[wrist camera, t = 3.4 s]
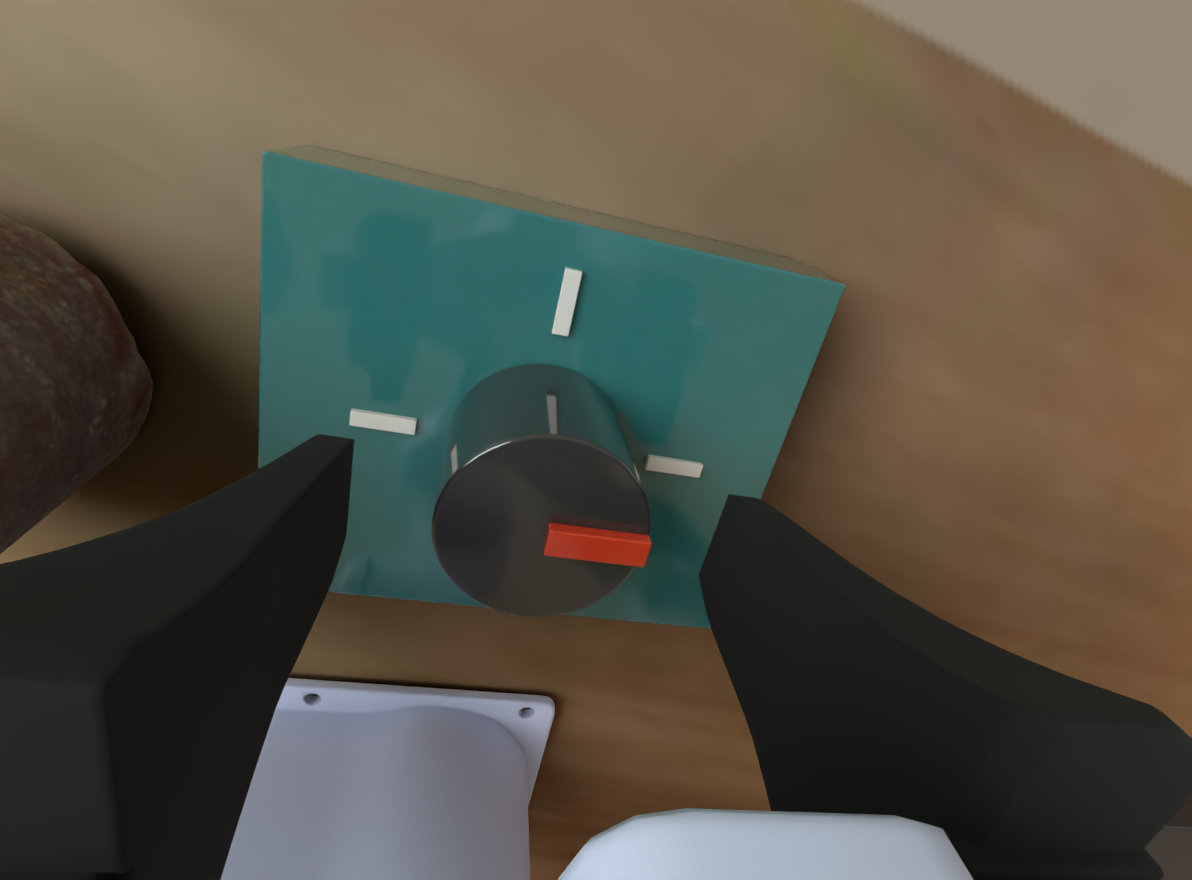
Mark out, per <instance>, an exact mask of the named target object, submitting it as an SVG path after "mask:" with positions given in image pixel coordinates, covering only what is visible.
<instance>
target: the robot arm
mask: <svg viewBox="0 0 1192 880" xmlns="http://www.w3.org/2000/svg"><path fill="white" fill-rule="evenodd" d="M353 451H354V439H349V438H343V437H336V436H329V435H322V434H317V435H315V436H314V437H312V438H310V439H308V440H307V441H305V442H303V443H302V444H300V445H298V446H297V447H295V448H294V449H292V450H290V451H289V452H287V453H285V454H284V455H282V456H280V457H279V458H277V459H275V460H274V461H272V462H270V463H268V464H267V465H265V466H263V467H262V468H260V469H258V470H256V471H255V472H253V473H251V474H249V475H248V476H246V477H244V478H242V479H240V480H238V481H236V482H234V483H232V484H230V485H228V486H226V487H224V488H222V489H220V490H218V491H216V492H214V493H212V494H210V495H208V496H206V497H204V498H202V499H200V500H198V501H196V502H194V503H191V504H189V505H187V506H185V507H182V508H180V509H178V510H175V511H173V512H170V513H168V514H165V515H163V516H160V517H158V518H155V519H152V520H150V521H147V522H145V523H142V524H139V525H137V526H134V527H131V528H128V529H125V530H122V531H119V532H115V533H112V534H109V535H106V536H102V537H99V538H96V539H93V540H90V541H86V542H83V543H80V544H77V545H74V546H70V547H67V548H64V549H60V550H57V551H53V552H49V553H45V554H41V555H37V556H33V557H29V558H25V559H21V560H17V561H13V562H8V563H4V564H0V880H530V856H529V823H528V805H529V802H530V798H531V795H532V791H533V788H534V784H535V781H536V777H537V774H538V770H539V767H540V763H541V760H542V756H543V753H544V749H545V746H546V743H547V739H548V736H549V732H550V729H551V725H552V722H553V718H554V715H555V706H554V702H553V700H552V699H551V698H549V697H547V696H542V695H528V694H514V693H499V692H485V691H470V690H456V689H442V688H427V687H413V686H398V685H384V684H370V683H355V682H341V681H326V680H312V679H298V678H289V675H290V673H291V671H292V669H293V667H294V665H295V662H296V660H297V658H298V656H299V654H300V652H301V649H302V647H303V645H304V643H305V641H306V638H307V636H308V634H309V632H310V630H311V628H312V625H313V623H314V621H315V619H316V617H317V614H318V612H319V610H320V608H321V606H322V603H323V601H324V599H325V597H326V594H327V592H328V590H329V588H330V585H331V583H332V581H333V578H334V575H335V571H336V568H337V565H338V562H339V558H340V555H341V551H342V548H343V545H344V541H345V538H346V534H347V523H348V511H349V499H350V487H351V475H352V463H353ZM699 580H700V585H701V590H702V595H703V600H704V604H705V609H706V613H707V617H708V620H709V623H710V626H711V629H712V631H713V634H714V637H715V639H716V642H717V645H718V647H719V650H720V653H721V655H722V658H723V661H724V663H725V666H726V668H727V671H728V673H729V676H730V679H731V681H732V684H733V686H734V689H735V691H736V694H737V697H738V699H739V702H740V704H741V707H742V710H743V712H744V715H745V717H746V720H747V723H748V726H749V729H750V732H751V735H752V738H753V742H754V745H755V749H756V753H757V757H758V760H759V764H760V768H761V772H762V775H763V779H764V783H765V787H766V791H767V795H768V799H769V804H770V808H771V811H754V810H724V809H695V808H684V809H676V810H669V811H662V812H655V813H647V814H640V815H635V816H633V817H631V818H629V819H627V820H625V821H623V822H621V823H619V824H617V825H615V826H613V827H611V828H609V829H607V830H605V831H603V832H601V833H599V834H597V835H595V836H593V837H591V838H590V839H589V840H588V842H587V843H586V844H585V845H584V846H583V847H582V849H581V850H580V851H579V853H578V854H577V855H576V856H575V858H574V859H573V860H572V861H571V863H570V864H569V865H568V867H567V868H566V869H565V870H564V872H563V873H562V874H561V875H560V877H559V878H558V880H1161V879H1162V878H1163V877H1164V875H1163V870H1162V868H1161V867H1160V866H1159V865H1158V863H1157V862H1156V861H1155V860H1154V859H1153V858H1152V857H1151V855H1150V854H1149V853H1148V852H1147V851H1146V850H1145V847H1146V845H1147V844H1148V843H1149V842H1150V841H1151V840H1152V839H1153V838H1154V837H1155V836H1156V835H1157V834H1158V833H1159V832H1160V831H1161V830H1162V829H1163V828H1164V826H1165V825H1166V824H1167V823H1168V822H1169V821H1170V820H1171V819H1172V818H1173V817H1174V816H1175V815H1176V814H1177V813H1178V812H1179V811H1180V810H1181V809H1182V807H1183V806H1184V805H1185V804H1186V803H1187V801H1188V800H1189V799H1190V797H1191V796H1192V738H1191V737H1189V736H1188V735H1187V734H1186V733H1185V732H1184V731H1183V730H1182V729H1181V728H1180V727H1178V726H1177V725H1176V724H1175V723H1174V722H1173V721H1172V720H1171V719H1170V718H1169V717H1167V716H1166V715H1165V714H1164V713H1162V712H1161V711H1159V710H1158V709H1156V708H1155V707H1153V706H1151V705H1149V704H1146V703H1143V702H1140V701H1137V700H1135V699H1132V698H1129V697H1126V696H1123V695H1120V694H1117V693H1114V692H1112V691H1109V690H1106V689H1103V688H1100V687H1097V686H1094V685H1091V684H1089V683H1086V682H1083V681H1080V680H1077V679H1074V678H1072V677H1069V676H1066V675H1064V674H1061V673H1059V672H1056V671H1054V670H1052V669H1049V668H1047V667H1044V666H1042V665H1039V664H1037V663H1034V662H1032V661H1029V660H1027V659H1024V658H1022V657H1020V656H1018V655H1015V654H1013V653H1011V652H1009V651H1006V650H1004V649H1002V648H1000V647H997V646H995V645H993V644H991V643H989V642H987V641H985V640H983V639H981V638H979V637H977V636H974V635H972V634H970V633H968V632H966V631H964V630H962V629H960V628H958V627H956V626H954V625H952V624H950V623H948V622H946V621H945V620H943V619H941V618H939V617H937V616H935V615H933V614H932V613H930V612H928V611H926V610H925V609H923V608H921V607H919V606H918V605H916V604H914V603H912V602H911V601H909V600H907V599H905V598H904V597H902V596H900V595H899V594H897V593H895V592H894V591H892V590H891V589H889V588H887V587H886V586H884V585H883V584H881V583H880V582H878V581H877V580H875V579H874V578H872V577H871V576H869V575H868V574H866V573H865V572H863V571H862V570H860V569H859V568H857V567H856V566H854V565H853V564H851V563H850V562H848V561H847V560H846V559H844V558H843V557H841V556H840V555H839V554H837V553H836V552H834V551H833V550H832V549H830V548H829V547H827V546H826V545H825V544H823V543H822V542H821V541H819V540H818V539H816V538H815V537H814V536H812V535H811V534H810V533H808V532H807V531H806V530H804V529H803V528H801V527H800V526H799V525H797V524H796V523H795V522H793V521H792V520H790V519H789V518H788V517H786V516H785V515H783V514H782V513H780V512H779V511H778V510H776V509H775V508H773V507H771V506H770V505H768V504H767V503H765V502H763V501H761V500H759V499H758V498H753V497H746V496H739V495H733V494H729V495H728V497H727V500H726V503H725V506H724V508H723V511H722V514H721V516H720V519H719V522H718V524H717V527H716V530H715V532H714V535H713V538H712V540H711V543H710V546H709V548H708V551H707V554H706V556H705V559H704V562H703V564H702V567H701V570H700V573H699ZM311 694H317V696H315V695H311ZM523 708H529V709H523Z"/></svg>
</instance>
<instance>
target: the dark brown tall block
mask: <svg viewBox="0 0 1192 880" xmlns="http://www.w3.org/2000/svg"><path fill="white" fill-rule="evenodd" d="M152 391H153V381H152V379H151V376H150V371H149V369H148V367H147V365H146V363H145V361H144V360H143V358H142V357H141V356H140V355H139V353H138V350H137V347H136V343H135V340H134V337H133V336H132V334H131V333H130V331H129V330H128V328H127V326H126V324H125V322H124V320H123V318H122V316H121V314H120V312H119V310H118V308H117V306H116V304H115V302H114V301H113V299H112V298H111V296H110V294H109V293H108V291H107V289H106V288H105V286H104V285H103V283H102V281H101V280H100V278H98V277H97V276H96V275H95V274H94V273H92V272H91V271H90V270H89V269H87V268H86V267H84V266H83V265H81V264H80V263H78V262H77V261H76V260H75V259H74V258H73V257H72V256H71V255H70V254H69V253H68V252H67V251H66V250H65V249H64V248H63V247H62V246H61V245H60V244H58V243H57V242H56V241H55V240H53V239H51V238H50V237H48V236H46V235H45V234H43V233H42V232H40V231H38V230H36V229H33V228H30V227H27V226H25V225H22V224H19V223H17V222H16V221H14V220H12V219H11V218H9V217H8V216H6V215H4V214H3V213H0V554H1V553H2V552H3V551H4V550H6V549H7V548H8V547H9V546H11V545H12V544H13V543H14V542H15V541H17V540H18V539H19V538H20V537H21V536H23V535H24V534H25V533H26V532H27V531H29V530H30V529H31V528H32V527H33V526H35V525H36V524H37V523H38V522H39V521H41V520H42V519H43V518H44V517H45V516H47V515H48V514H49V513H50V512H51V511H53V510H54V509H55V508H56V507H58V506H59V505H60V504H61V503H62V502H64V501H65V500H66V499H67V498H68V497H69V496H71V495H72V494H73V493H74V492H75V491H77V490H78V489H79V488H80V487H81V486H83V485H84V484H85V483H86V482H88V481H89V480H90V479H91V478H93V477H94V476H95V475H96V474H97V473H99V472H100V471H101V470H102V469H103V468H104V467H106V466H107V465H108V464H109V463H110V462H111V461H113V460H114V459H115V458H116V457H117V456H118V455H120V454H121V453H122V452H123V451H124V450H125V449H126V448H127V447H128V446H129V445H130V444H131V443H132V442H133V440H134V439H135V437H136V436H137V435H138V433H139V429H140V427H141V425H142V424H143V422H144V421H145V419H146V417H147V414H148V410H149V407H150V403H151V397H152Z"/></svg>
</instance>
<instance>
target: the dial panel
mask: <svg viewBox="0 0 1192 880" xmlns="http://www.w3.org/2000/svg"><path fill="white" fill-rule="evenodd" d="M844 289H845V285H844V284H843V283H841V282H839V281H837V280H835V279H833V278H831V277H829V276H827V275H825V274H823V273H821V272H819V271H817V270H815V269H813V268H811V267H809V266H807V265H805V264H803V263H801V262H799V261H797V260H795V259H793V258H789V257H785V256H781V255H776V254H772V253H768V252H764V251H759V250H755V249H751V248H747V247H742V246H738V245H734V244H730V243H725V242H721V241H717V240H713V239H708V238H704V237H700V236H696V235H691V234H687V233H683V232H679V231H674V230H670V229H666V228H662V227H657V226H653V225H649V224H645V223H640V222H636V221H632V220H628V219H623V218H619V217H615V216H611V215H606V214H602V213H598V212H594V211H589V210H585V209H581V208H577V207H572V206H568V205H564V204H559V203H555V202H551V201H547V200H542V199H538V198H534V197H530V196H525V195H521V194H517V193H513V192H508V191H504V190H500V189H496V188H491V187H487V186H483V185H479V184H474V183H470V182H466V181H462V180H457V179H453V178H449V177H445V176H440V175H436V174H432V173H428V172H423V171H419V170H415V169H411V168H406V167H402V166H398V165H394V164H389V163H385V162H381V161H377V160H372V159H368V158H364V157H360V156H355V155H351V154H347V153H343V152H338V151H334V150H330V149H326V148H321V147H317V146H313V145H303V146H296V147H289V148H282V149H275V150H268V151H263V153H262V213H261V286H260V358H259V431H258V469H260V468H262V467H263V466H265V465H267V464H268V463H270V462H272V461H274V460H275V459H277V458H279V457H280V456H282V455H284V454H285V453H287V452H289V451H290V450H292V449H294V448H295V447H297V446H298V445H300V444H302V443H303V442H305V441H307V440H308V439H310V438H312V437H314V436H315V435H317V434H322V435H329V436H336V437H343V438H349V439H354V451H353V463H352V475H351V487H350V499H349V511H348V523H347V534H346V538H345V541H344V545H343V548H342V551H341V555H340V558H339V562H338V565H337V568H336V571H335V575H334V578H333V581H332V583H331V585H330V588H329V590H328V592H335V593H345V594H355V595H366V596H376V597H386V598H396V599H407V600H417V601H427V602H438V603H448V604H458V605H468V606H479V607H486V606H484V605H482V604H480V603H478V602H476V601H474V600H473V599H471V598H470V597H468V596H467V595H466V594H464V593H463V592H462V591H461V590H460V589H459V588H458V587H456V586H455V585H454V583H453V582H452V581H451V580H450V579H449V578H448V576H447V575H446V573H445V572H444V570H443V568H442V567H441V565H440V563H439V561H438V558H437V556H436V554H435V550H434V546H433V542H432V532H431V527H432V516H433V510H434V505H435V499H436V494H437V489H438V483H439V478H440V473H441V467H442V462H443V456H444V451H445V446H446V440H447V435H448V430H449V426H450V422H451V419H452V417H453V414H454V412H455V410H456V408H457V407H458V405H459V403H460V402H461V400H462V399H463V398H464V397H465V395H466V394H467V393H468V392H469V391H470V390H471V389H472V388H473V387H474V386H475V385H477V384H478V383H479V382H481V381H482V380H483V379H485V378H487V377H489V376H490V375H492V374H494V373H496V372H499V371H501V370H504V369H507V368H510V367H514V366H519V365H526V364H545V365H554V366H558V367H562V368H565V369H568V370H571V371H573V372H576V373H578V374H579V375H581V376H583V377H585V378H587V379H588V380H589V381H591V382H592V383H593V384H595V385H596V386H597V387H598V388H599V389H600V390H601V391H602V392H603V393H604V394H605V396H606V397H607V398H608V400H609V401H610V403H611V404H612V406H613V408H614V410H615V412H616V415H617V417H618V420H619V422H620V425H621V428H622V431H623V433H624V436H625V439H626V441H627V444H628V447H629V450H630V452H631V455H632V458H633V460H634V463H635V466H636V469H637V471H638V474H639V477H640V479H641V482H642V485H643V488H644V490H645V493H646V496H647V499H648V503H649V508H650V518H651V524H650V534H649V537H650V539H651V542H652V546H651V549H650V552H649V555H648V558H647V561H646V564H645V567H636V568H635V569H634V571H633V572H632V573H631V575H630V576H629V577H628V578H627V579H626V580H625V581H624V582H623V583H622V584H621V585H620V586H619V587H618V588H617V589H615V590H614V591H613V592H612V593H611V594H609V595H607V596H606V597H604V598H603V599H601V600H600V601H598V602H596V603H594V604H592V605H590V606H587V607H585V608H582V609H580V610H577V611H573V612H570V613H566V614H561V615H571V616H582V617H592V618H602V619H613V620H623V621H633V622H644V623H654V624H664V625H674V626H685V627H695V628H705V629H709V628H710V623H709V620H708V617H707V613H706V609H705V604H704V600H703V595H702V590H701V585H700V580H699V573H700V570H701V567H702V564H703V562H704V559H705V556H706V554H707V551H708V548H709V546H710V543H711V540H712V538H713V535H714V532H715V530H716V527H717V524H718V522H719V519H720V516H721V514H722V511H723V508H724V506H725V503H726V500H727V497H728V495H729V494H733V495H739V496H746V497H753V498H758V499H759V500H761V498H762V495H763V493H764V490H765V488H766V485H767V483H768V480H769V478H770V475H771V473H772V470H773V468H774V465H775V463H776V460H777V457H778V455H779V452H780V450H781V447H782V445H783V442H784V440H785V437H786V435H787V432H788V430H789V427H790V425H791V422H792V420H793V417H794V415H795V412H796V410H797V407H798V405H799V402H800V400H801V397H802V395H803V392H804V389H805V387H806V384H807V382H808V379H809V377H810V374H811V372H812V369H813V367H814V364H815V362H816V359H817V357H818V354H819V352H820V349H821V347H822V344H823V342H824V339H825V337H826V334H827V332H828V329H829V327H830V324H831V322H832V319H833V316H834V314H835V311H836V309H837V306H838V304H839V301H840V299H841V296H842V294H843V291H844Z"/></svg>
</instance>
